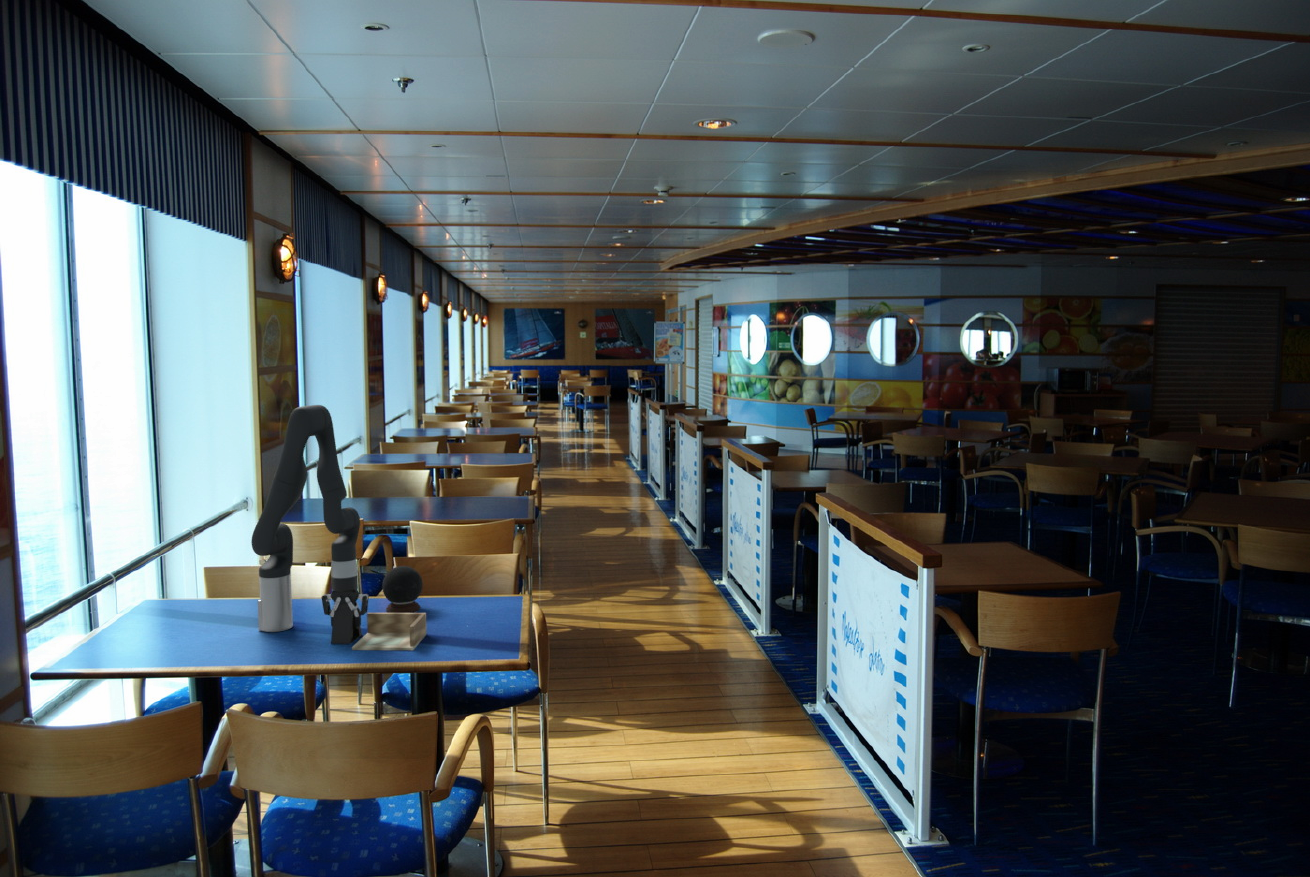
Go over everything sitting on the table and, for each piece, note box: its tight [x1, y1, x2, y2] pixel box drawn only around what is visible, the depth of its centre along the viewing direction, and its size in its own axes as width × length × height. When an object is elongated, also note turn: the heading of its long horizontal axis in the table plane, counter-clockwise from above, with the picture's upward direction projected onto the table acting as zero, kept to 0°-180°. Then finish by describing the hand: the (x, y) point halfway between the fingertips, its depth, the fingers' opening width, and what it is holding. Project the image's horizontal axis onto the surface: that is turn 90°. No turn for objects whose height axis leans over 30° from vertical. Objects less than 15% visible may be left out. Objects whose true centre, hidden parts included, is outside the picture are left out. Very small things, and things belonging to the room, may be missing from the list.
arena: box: [351, 612, 428, 651], centre depth 273 cm, size 18×15×7 cm
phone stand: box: [330, 602, 363, 645], centre depth 275 cm, size 9×6×12 cm, turn 175°
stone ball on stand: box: [381, 565, 424, 613], centre depth 306 cm, size 13×13×15 cm
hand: (346, 627), depth 275 cm, fingers closed on phone stand, 6 cm apart
